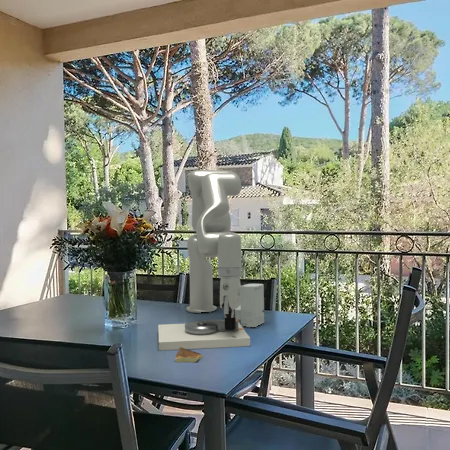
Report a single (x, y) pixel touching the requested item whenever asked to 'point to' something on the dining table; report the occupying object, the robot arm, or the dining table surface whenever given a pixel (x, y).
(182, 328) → the board
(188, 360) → the shard
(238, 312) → the ramekin
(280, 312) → the dining table surface
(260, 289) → the skincare box
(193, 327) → the dial
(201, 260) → the robot arm
